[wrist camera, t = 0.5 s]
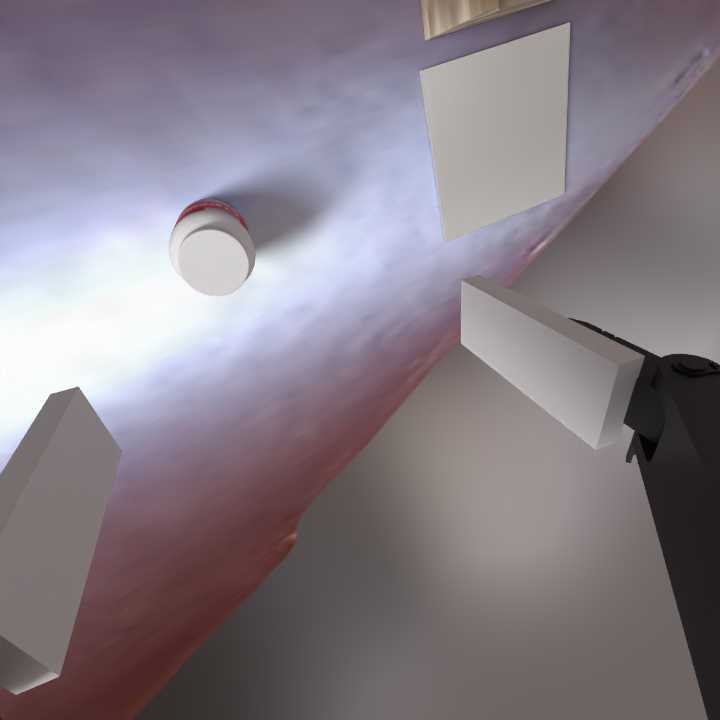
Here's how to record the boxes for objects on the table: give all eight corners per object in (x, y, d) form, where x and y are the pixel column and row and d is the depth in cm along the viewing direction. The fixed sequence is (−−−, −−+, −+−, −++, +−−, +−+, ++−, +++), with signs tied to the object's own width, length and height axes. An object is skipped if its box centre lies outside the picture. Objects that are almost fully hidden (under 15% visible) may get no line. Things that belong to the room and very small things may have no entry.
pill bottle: (243, 197, 35) (255, 215, 26) (251, 264, 38) (265, 301, 29) (169, 199, 33) (153, 219, 24) (184, 269, 36) (175, 311, 27)
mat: (419, 71, 35) (422, 70, 34) (565, 23, 37) (570, 22, 36) (443, 240, 43) (446, 241, 43) (560, 194, 46) (564, 194, 45)
